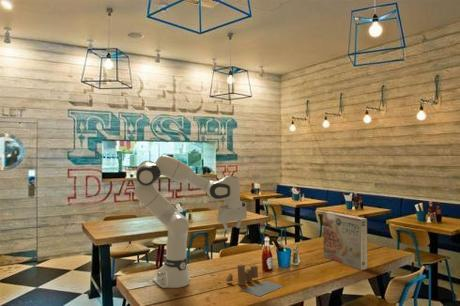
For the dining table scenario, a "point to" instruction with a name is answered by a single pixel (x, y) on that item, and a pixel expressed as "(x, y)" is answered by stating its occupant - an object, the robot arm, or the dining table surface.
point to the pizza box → (345, 239)
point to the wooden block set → (244, 274)
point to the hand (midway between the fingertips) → (232, 228)
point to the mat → (262, 288)
